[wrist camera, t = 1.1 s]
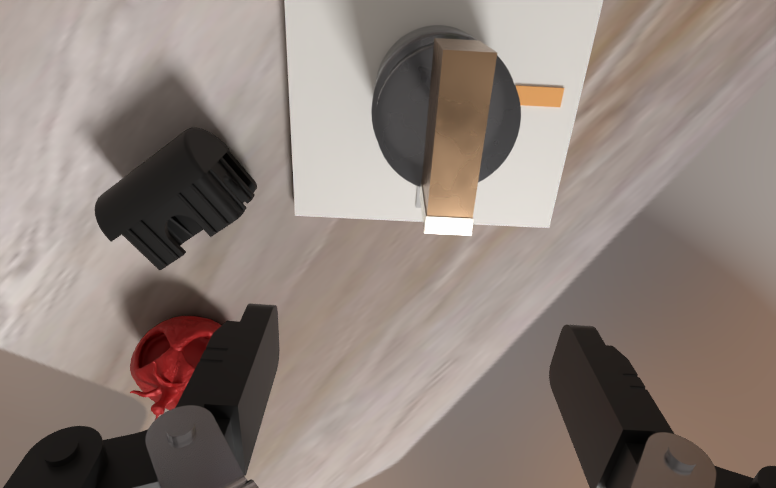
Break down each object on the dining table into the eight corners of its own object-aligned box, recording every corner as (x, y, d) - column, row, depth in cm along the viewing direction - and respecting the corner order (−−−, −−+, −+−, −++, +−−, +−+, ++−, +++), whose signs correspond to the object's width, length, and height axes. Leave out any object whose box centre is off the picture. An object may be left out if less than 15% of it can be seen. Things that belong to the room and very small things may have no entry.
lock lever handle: (379, 31, 27) (374, 46, 21) (526, 39, 27) (565, 56, 21) (373, 181, 31) (368, 230, 25) (500, 188, 32) (526, 238, 25)
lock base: (284, -93, 32) (250, -117, 24) (612, -74, 32) (680, -92, 24) (298, 208, 42) (277, 258, 35) (544, 220, 43) (577, 272, 35)
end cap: (206, 115, 38) (172, 139, 33) (264, 184, 41) (242, 217, 35) (122, 179, 41) (77, 212, 35) (181, 239, 44) (149, 279, 38)
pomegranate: (244, 381, 53) (218, 456, 45) (151, 367, 52) (108, 441, 44) (250, 312, 48) (222, 382, 40) (147, 295, 47) (98, 363, 39)
